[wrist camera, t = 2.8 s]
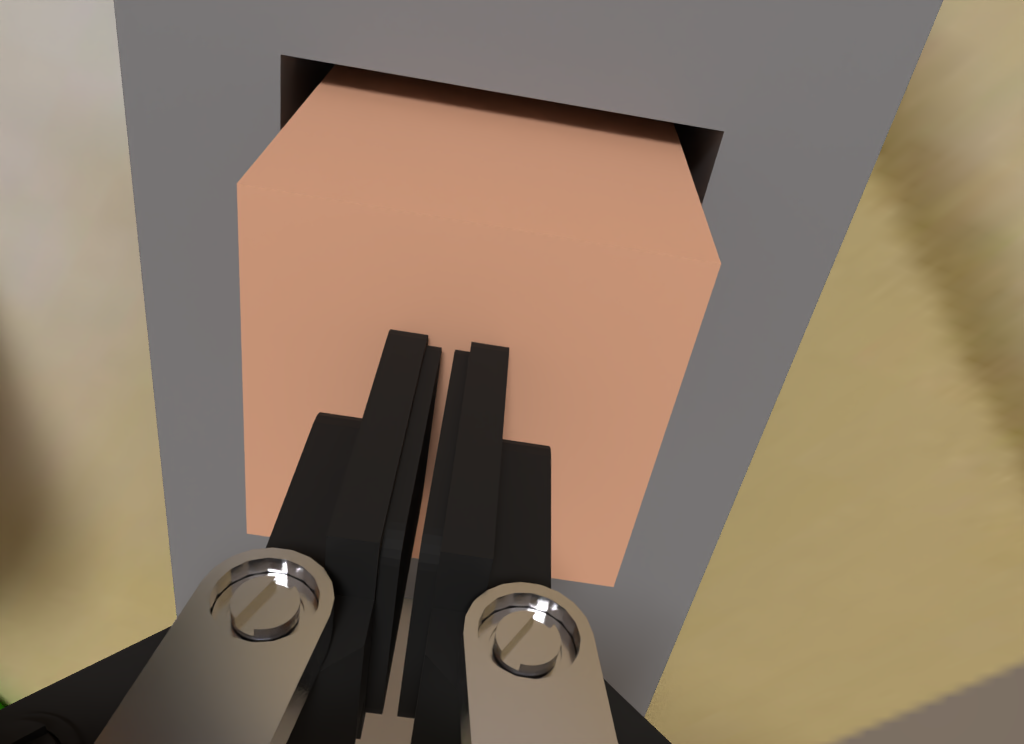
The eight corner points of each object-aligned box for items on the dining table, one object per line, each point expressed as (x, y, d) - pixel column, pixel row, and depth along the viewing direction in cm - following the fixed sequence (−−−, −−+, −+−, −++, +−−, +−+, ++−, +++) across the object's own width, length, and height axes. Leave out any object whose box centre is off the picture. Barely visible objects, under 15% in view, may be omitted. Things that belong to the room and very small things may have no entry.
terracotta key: (670, 113, 16) (721, 264, 11) (599, 378, 19) (613, 586, 14) (342, 55, 15) (236, 183, 10) (330, 336, 19) (247, 533, 14)
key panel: (835, -67, 17) (946, -9, 12) (588, 668, 31) (593, 837, 26) (236, -179, 16) (97, -166, 12) (254, 621, 30) (194, 785, 25)
